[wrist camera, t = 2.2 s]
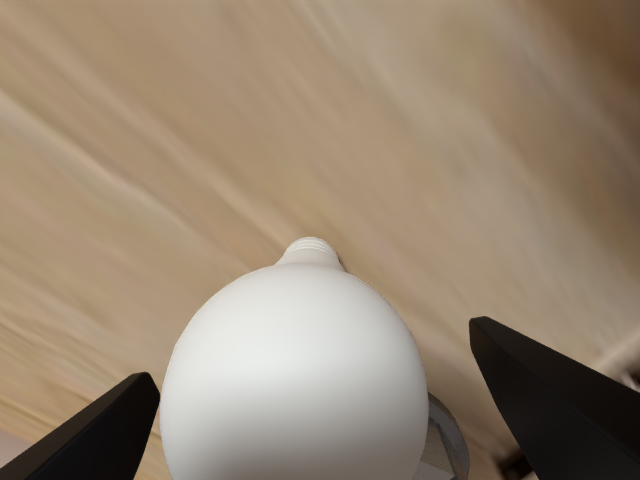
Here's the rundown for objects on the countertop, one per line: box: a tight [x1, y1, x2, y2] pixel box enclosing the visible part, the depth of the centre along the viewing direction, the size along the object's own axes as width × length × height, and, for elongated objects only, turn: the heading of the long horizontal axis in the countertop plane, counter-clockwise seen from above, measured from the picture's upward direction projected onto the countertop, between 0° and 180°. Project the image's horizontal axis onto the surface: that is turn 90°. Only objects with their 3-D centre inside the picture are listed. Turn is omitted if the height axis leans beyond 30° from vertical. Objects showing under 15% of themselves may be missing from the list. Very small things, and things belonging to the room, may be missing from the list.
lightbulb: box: [160, 237, 429, 480], centre depth 10 cm, size 6×6×11 cm
